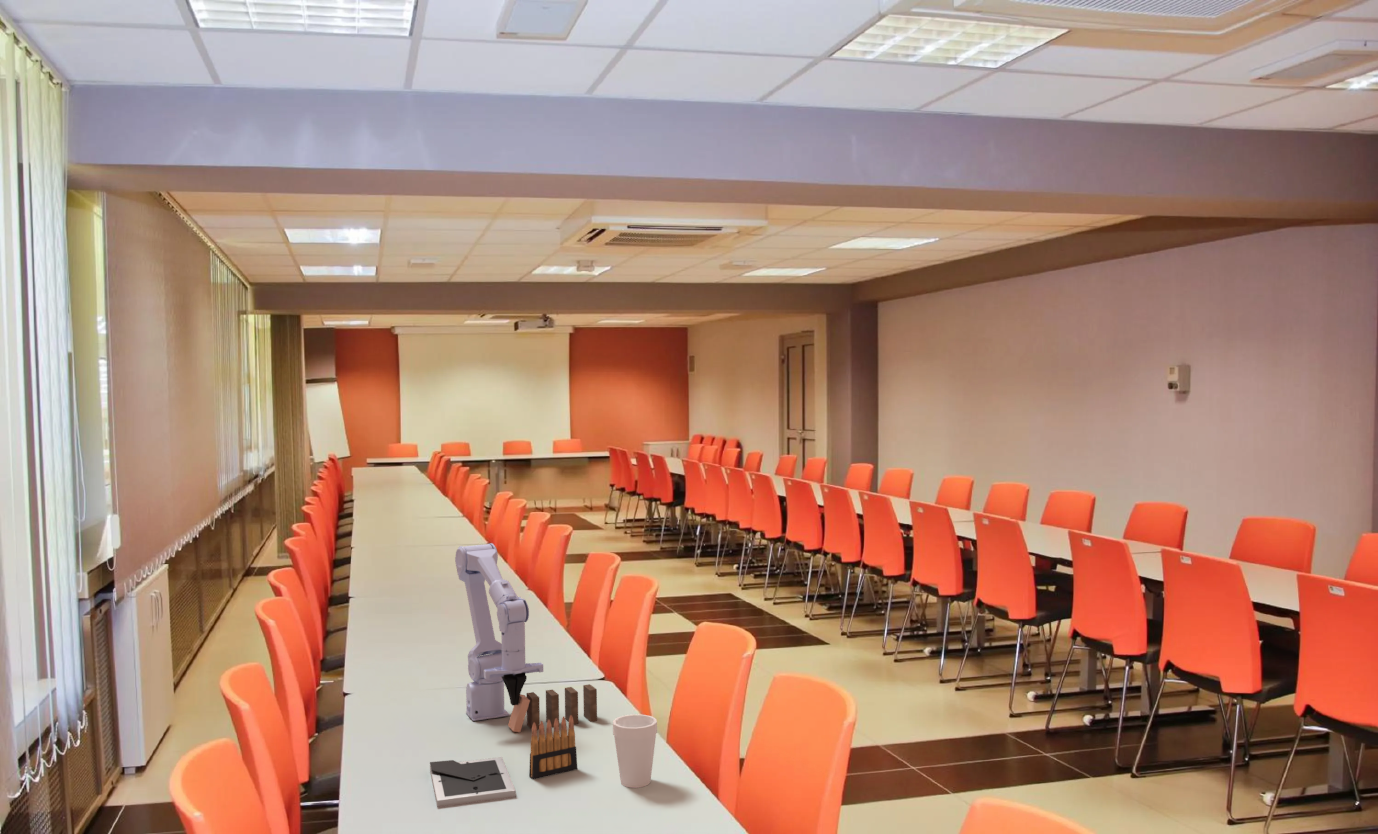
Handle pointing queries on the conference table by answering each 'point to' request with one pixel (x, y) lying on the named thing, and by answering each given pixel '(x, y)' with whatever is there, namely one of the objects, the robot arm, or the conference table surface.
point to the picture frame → (470, 781)
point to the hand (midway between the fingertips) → (514, 704)
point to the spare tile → (519, 714)
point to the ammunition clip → (552, 749)
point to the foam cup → (635, 748)
